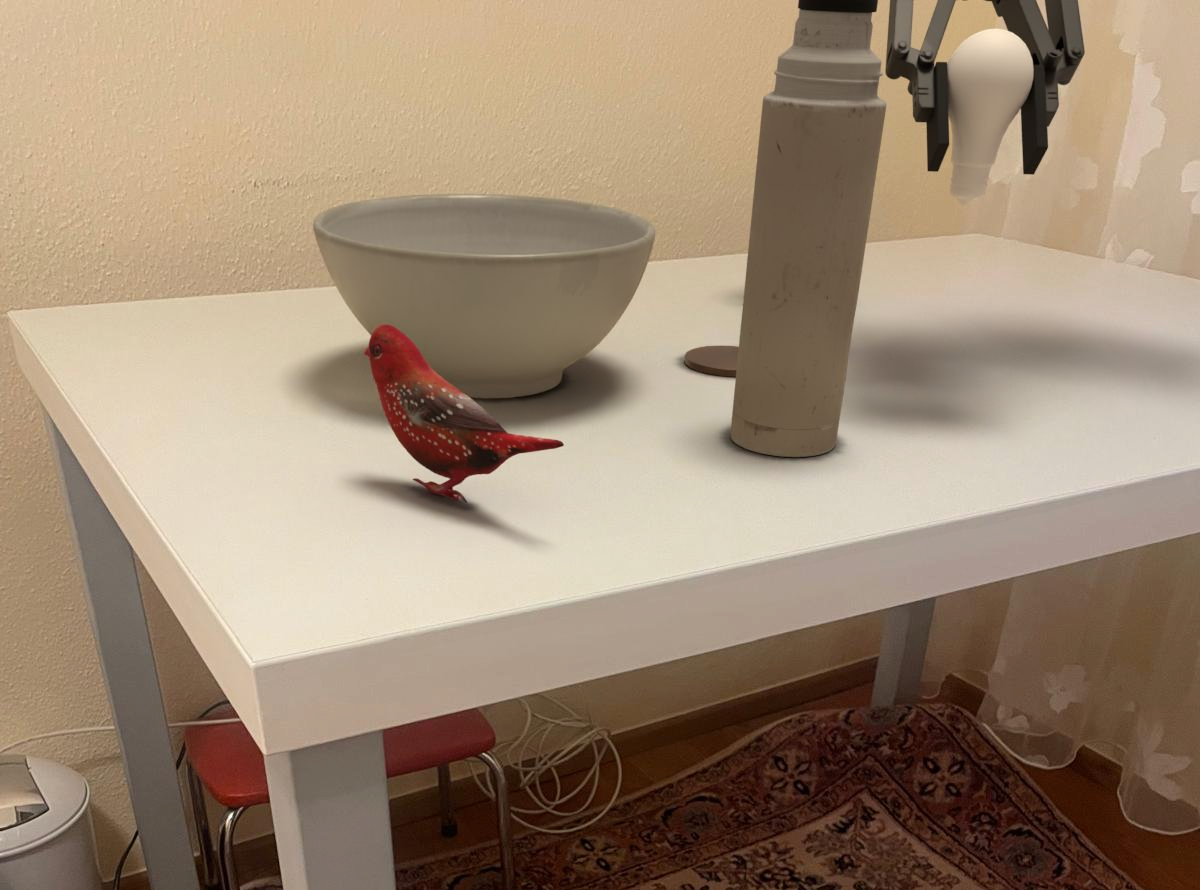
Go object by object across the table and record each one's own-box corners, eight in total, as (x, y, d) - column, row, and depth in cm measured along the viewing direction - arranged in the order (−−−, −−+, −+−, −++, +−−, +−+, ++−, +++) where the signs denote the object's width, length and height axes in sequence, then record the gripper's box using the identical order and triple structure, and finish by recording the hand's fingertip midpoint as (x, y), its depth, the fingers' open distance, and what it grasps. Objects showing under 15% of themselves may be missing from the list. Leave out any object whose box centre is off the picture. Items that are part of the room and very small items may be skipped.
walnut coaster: (788, 362, 108) (789, 355, 108) (748, 382, 102) (749, 375, 102) (710, 347, 111) (711, 340, 111) (668, 365, 106) (668, 358, 105)
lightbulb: (937, 195, 92) (966, 25, 86) (1017, 203, 89) (1052, 29, 83) (911, 205, 88) (939, 27, 81) (994, 214, 85) (1030, 31, 79)
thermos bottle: (708, 434, 90) (747, -11, 74) (780, 416, 95) (832, -9, 79) (785, 465, 86) (844, -6, 69) (857, 444, 90) (929, -3, 74)
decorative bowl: (705, 373, 104) (717, 221, 97) (518, 452, 86) (517, 272, 79) (467, 321, 116) (463, 183, 109) (258, 381, 98) (237, 220, 91)
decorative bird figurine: (389, 464, 83) (378, 314, 77) (578, 537, 74) (582, 371, 68) (357, 475, 81) (343, 321, 75) (546, 550, 72) (547, 381, 66)
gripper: (1086, -70, 91) (1100, 199, 87) (837, -78, 91) (839, 191, 87) (1129, -166, 84) (1147, 124, 80) (859, -174, 84) (863, 115, 80)
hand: (986, 159), depth 84 cm, fingers closed on lightbulb, 6 cm apart
